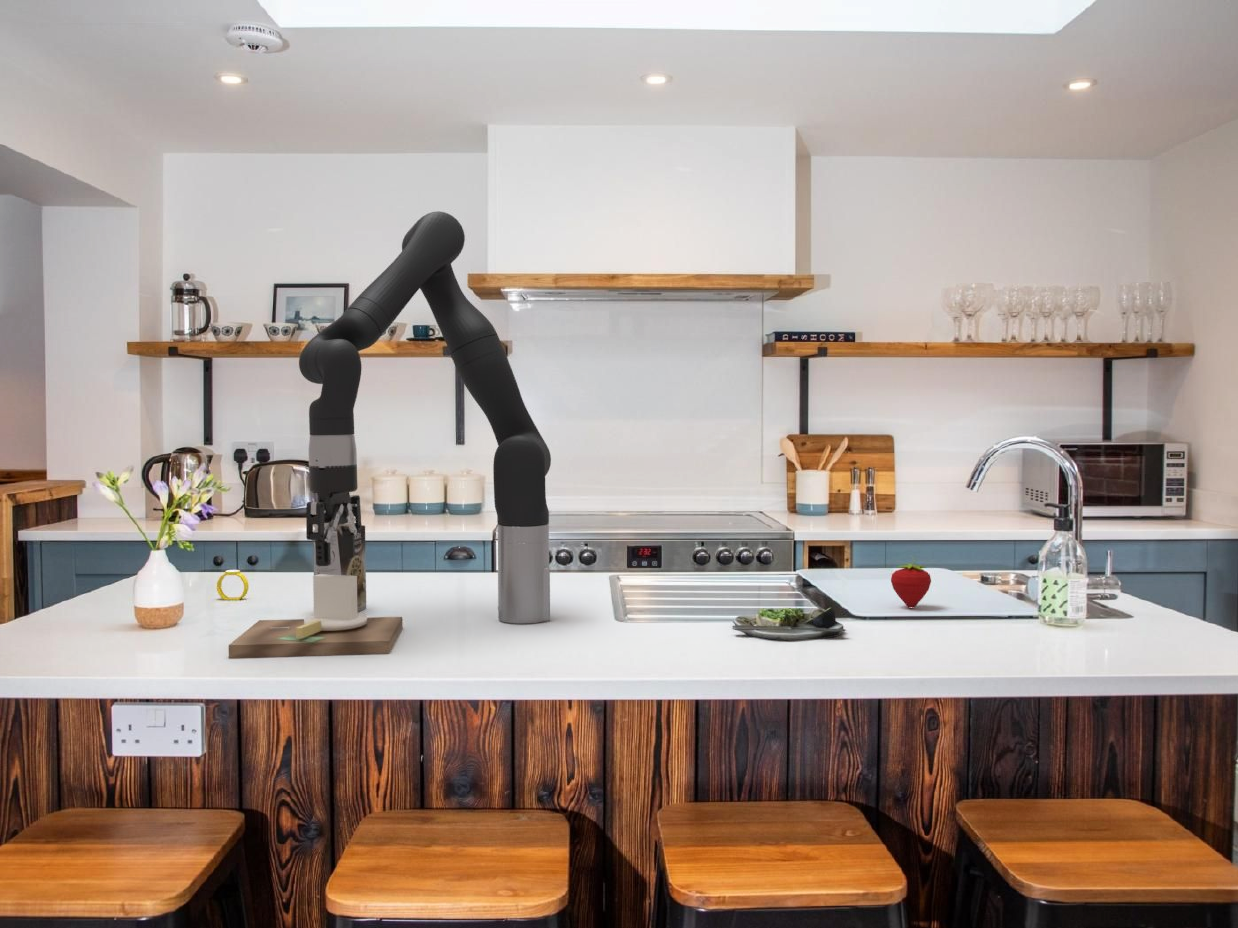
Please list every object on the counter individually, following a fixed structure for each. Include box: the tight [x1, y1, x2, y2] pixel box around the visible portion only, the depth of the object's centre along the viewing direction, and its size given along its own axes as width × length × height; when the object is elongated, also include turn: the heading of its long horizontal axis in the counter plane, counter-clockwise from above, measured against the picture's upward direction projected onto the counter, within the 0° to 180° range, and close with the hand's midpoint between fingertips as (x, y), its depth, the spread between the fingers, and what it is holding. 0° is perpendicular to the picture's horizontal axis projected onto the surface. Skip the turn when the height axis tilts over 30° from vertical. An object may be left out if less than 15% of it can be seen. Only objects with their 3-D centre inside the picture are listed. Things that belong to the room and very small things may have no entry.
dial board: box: [228, 616, 404, 659], centre depth 159 cm, size 24×18×2 cm
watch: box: [216, 569, 249, 601], centre depth 196 cm, size 6×3×6 cm, turn 87°
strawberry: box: [890, 554, 932, 608], centre depth 184 cm, size 6×8×10 cm
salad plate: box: [732, 606, 847, 641], centre depth 166 cm, size 19×18×5 cm
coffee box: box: [312, 524, 367, 613], centre depth 182 cm, size 9×6×16 cm
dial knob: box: [296, 574, 368, 638], centre depth 158 cm, size 16×10×8 cm, turn 164°
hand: (336, 561), depth 160 cm, fingers open, 8 cm apart
